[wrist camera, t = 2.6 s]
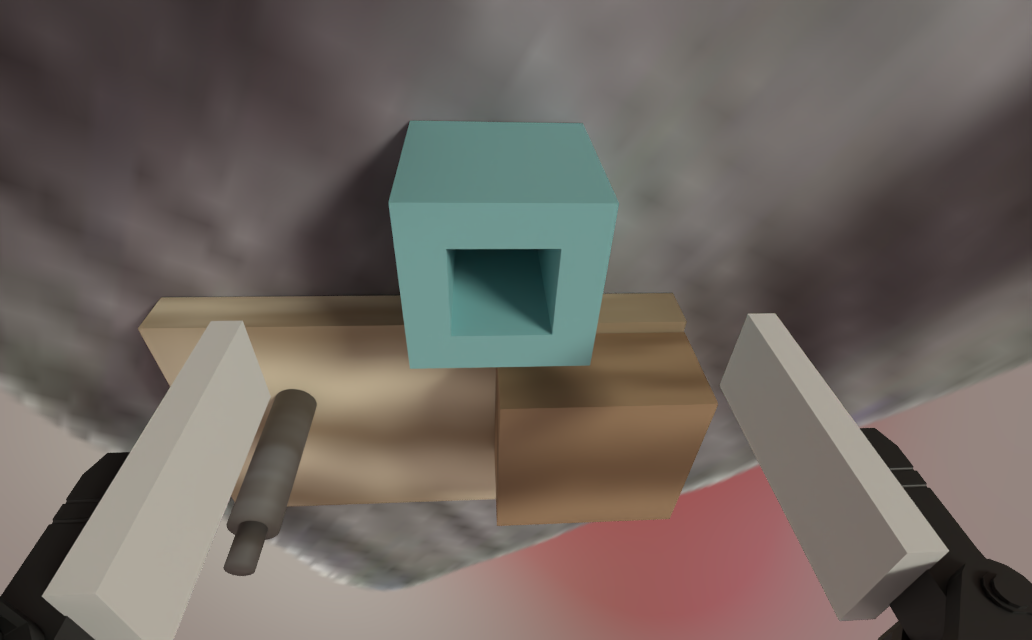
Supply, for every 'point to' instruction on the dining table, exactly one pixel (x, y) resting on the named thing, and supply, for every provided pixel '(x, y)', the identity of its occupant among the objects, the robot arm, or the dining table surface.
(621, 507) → the block
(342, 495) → the base board
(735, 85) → the dining table surface
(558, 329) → the teal hollow cube
